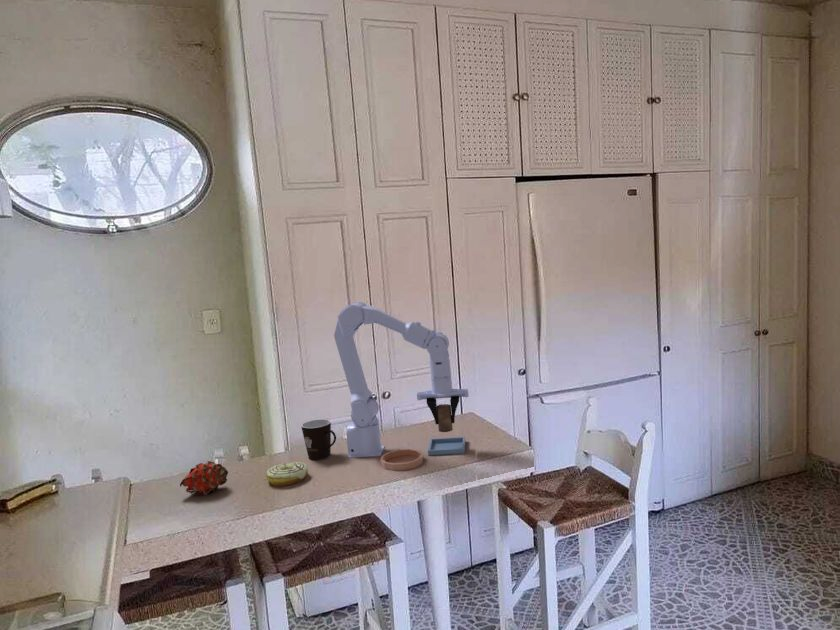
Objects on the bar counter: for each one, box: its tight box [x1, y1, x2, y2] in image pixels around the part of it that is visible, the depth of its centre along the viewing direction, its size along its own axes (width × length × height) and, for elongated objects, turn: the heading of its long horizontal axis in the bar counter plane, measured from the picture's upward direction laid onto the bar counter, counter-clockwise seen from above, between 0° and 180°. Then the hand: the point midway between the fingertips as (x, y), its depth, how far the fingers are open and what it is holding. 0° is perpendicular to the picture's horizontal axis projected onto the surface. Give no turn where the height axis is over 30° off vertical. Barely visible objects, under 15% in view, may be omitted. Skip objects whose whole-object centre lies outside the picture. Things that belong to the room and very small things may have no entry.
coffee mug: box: [300, 418, 337, 461], centre depth 168 cm, size 12×9×10 cm
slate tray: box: [427, 436, 466, 457], centre depth 165 cm, size 10×10×2 cm
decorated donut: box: [266, 461, 309, 487], centre depth 154 cm, size 10×11×4 cm
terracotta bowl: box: [379, 448, 424, 471], centre depth 158 cm, size 11×11×2 cm
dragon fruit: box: [179, 460, 229, 496], centre depth 150 cm, size 8×8×12 cm
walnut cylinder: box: [437, 403, 454, 433], centre depth 164 cm, size 4×4×7 cm
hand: (445, 422), depth 165 cm, fingers closed on walnut cylinder, 4 cm apart
